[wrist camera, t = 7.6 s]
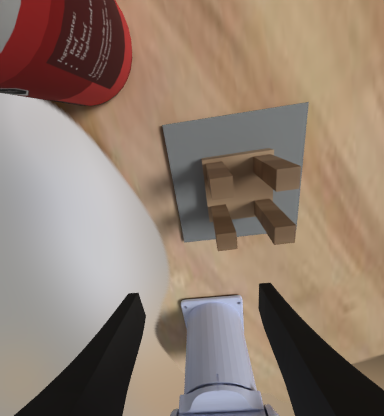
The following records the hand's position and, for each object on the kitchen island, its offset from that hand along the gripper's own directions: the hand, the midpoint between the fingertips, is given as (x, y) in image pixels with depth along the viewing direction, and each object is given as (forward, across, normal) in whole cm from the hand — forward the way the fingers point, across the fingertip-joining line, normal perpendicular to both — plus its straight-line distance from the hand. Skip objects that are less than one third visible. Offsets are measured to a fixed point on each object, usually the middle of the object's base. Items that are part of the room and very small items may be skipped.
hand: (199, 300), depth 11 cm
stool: (+9, -4, -4) cm, 11 cm away
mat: (+10, -4, -4) cm, 11 cm away
